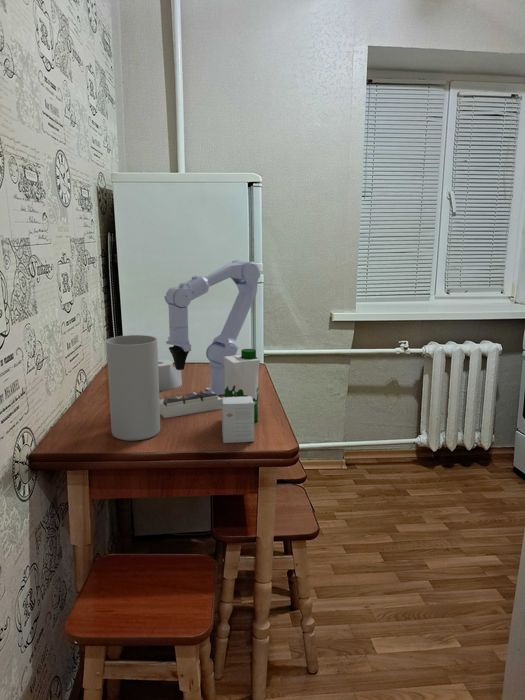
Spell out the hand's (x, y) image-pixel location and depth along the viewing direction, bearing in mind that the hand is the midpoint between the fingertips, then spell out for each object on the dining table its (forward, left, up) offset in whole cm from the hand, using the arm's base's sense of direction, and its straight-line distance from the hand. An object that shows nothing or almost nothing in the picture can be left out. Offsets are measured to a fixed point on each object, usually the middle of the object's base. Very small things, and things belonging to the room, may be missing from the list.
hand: (180, 369), depth 161 cm
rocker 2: (+1, +11, -6) cm, 13 cm away
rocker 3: (-5, +11, -6) cm, 14 cm away
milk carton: (-9, +25, -10) cm, 28 cm away
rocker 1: (+6, +11, -6) cm, 14 cm away
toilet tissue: (0, -16, -10) cm, 19 cm away
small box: (-2, +37, -10) cm, 38 cm away
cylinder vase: (+20, +21, -10) cm, 31 cm away
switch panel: (-1, +10, -10) cm, 14 cm away
